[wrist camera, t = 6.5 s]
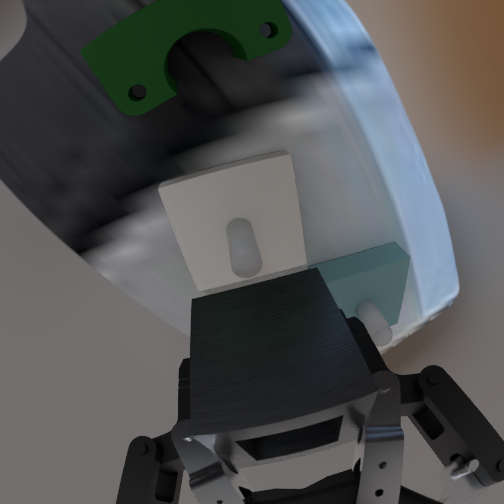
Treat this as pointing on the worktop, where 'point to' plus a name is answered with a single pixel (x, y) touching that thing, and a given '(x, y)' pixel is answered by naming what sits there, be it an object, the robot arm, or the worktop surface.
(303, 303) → the metal collar
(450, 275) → the worktop surface
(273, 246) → the rod stand
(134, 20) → the clamp
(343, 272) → the block
